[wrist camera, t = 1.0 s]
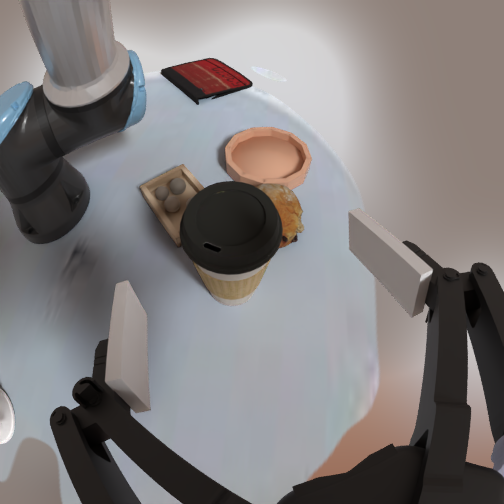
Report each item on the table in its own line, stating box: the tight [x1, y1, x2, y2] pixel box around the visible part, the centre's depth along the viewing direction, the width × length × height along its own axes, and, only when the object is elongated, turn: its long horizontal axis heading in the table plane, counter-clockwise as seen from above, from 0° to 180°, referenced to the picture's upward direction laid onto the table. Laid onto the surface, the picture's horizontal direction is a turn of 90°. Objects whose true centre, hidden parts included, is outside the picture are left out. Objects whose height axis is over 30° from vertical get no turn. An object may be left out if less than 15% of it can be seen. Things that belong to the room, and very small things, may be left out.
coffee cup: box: [179, 181, 283, 306], centre depth 34 cm, size 10×10×15 cm
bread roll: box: [257, 183, 304, 249], centre depth 44 cm, size 10×10×8 cm
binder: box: [161, 58, 252, 105], centre depth 67 cm, size 16×2×21 cm
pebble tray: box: [140, 164, 204, 247], centre depth 45 cm, size 12×8×3 cm, turn 37°
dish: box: [225, 127, 312, 190], centre depth 51 cm, size 14×14×2 cm
